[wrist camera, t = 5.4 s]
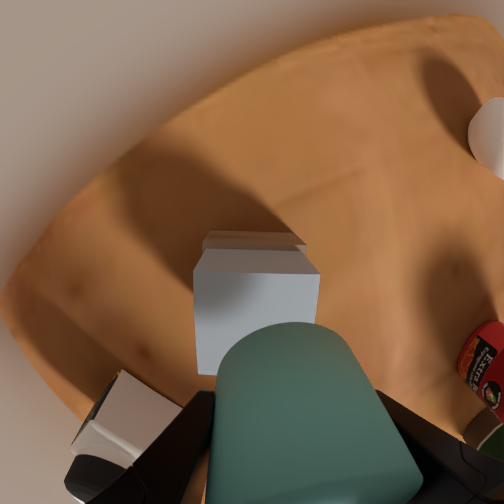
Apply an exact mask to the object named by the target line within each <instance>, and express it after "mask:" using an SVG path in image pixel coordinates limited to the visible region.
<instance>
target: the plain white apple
mask: <svg viewBox="0 0 504 504" xmlns="http://www.w3.org/2000/svg"><path fill="white" fill-rule="evenodd" d="M468 143H469V146H470V149H471V151H472V153H473V155H474V157H475V159H476V160H477V161H478V162H479V163H480V164H481V165H482V166H483V167H485V168H486V169H488V170H489V171H490V172H492V173H493V174H495V175H496V176H498V177H499V178H501V179H503V180H504V98H500V97H495V98H492V99H490V100H488V101H487V102H485V103H484V104H483V106H482V107H481V108H480V109H479V110H478V112H477V113H476V114H475V116H474V117H473V118H472V120H471V122H470V123H469V127H468Z"/></svg>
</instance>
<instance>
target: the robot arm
mask: <svg viewBox="0 0 504 504" xmlns="http://www.w3.org/2000/svg"><path fill="white" fill-rule="evenodd" d="M375 391H376V393H377V395H378V396H379V398H380V400H381V402H382V403H383V405H384V407H385V409H386V410H387V412H388V414H389V416H390V417H391V419H392V421H393V423H394V424H395V426H396V428H397V430H398V432H399V433H400V435H401V437H402V439H403V441H404V442H405V444H406V446H407V448H408V450H409V452H410V453H411V455H412V457H413V459H414V461H415V463H416V465H417V467H418V468H419V470H420V472H421V474H422V476H423V483H422V486H421V487H420V489H419V491H418V492H417V493H416V494H415V496H414V497H413V498H412V499H411V500H410V501H408V502H407V503H406V504H504V462H503V461H501V460H499V459H496V458H494V457H491V456H489V455H487V454H485V453H482V452H480V451H478V450H476V449H475V448H473V447H471V446H469V445H467V444H465V443H464V442H462V441H459V440H458V439H457V438H455V437H453V436H452V435H450V434H448V433H447V432H445V431H443V430H442V429H440V428H438V427H437V426H435V425H433V424H432V423H430V422H428V421H427V420H425V419H423V418H422V417H420V416H419V415H417V414H415V413H414V412H412V411H411V410H409V409H407V408H406V407H404V406H403V405H401V404H399V403H398V402H396V401H395V400H393V399H392V398H390V397H389V396H387V395H385V394H384V393H382V392H381V391H379V390H375ZM214 398H215V393H214V391H209V390H199V391H198V392H197V393H196V395H195V396H194V397H193V398H192V399H191V400H190V401H189V403H188V404H187V405H186V406H185V407H184V408H183V409H182V410H181V412H180V413H179V414H178V415H177V416H176V417H175V418H174V419H173V420H172V422H171V423H170V424H169V425H168V426H167V427H166V428H165V429H164V430H163V431H162V433H161V434H160V435H159V436H158V437H157V438H156V439H155V440H154V441H153V442H152V443H151V444H150V445H149V447H148V448H147V449H146V450H145V451H144V452H143V453H142V454H141V455H140V456H139V457H138V458H137V459H136V460H135V461H134V462H133V463H132V466H129V467H128V468H127V469H126V470H125V471H124V472H123V473H122V474H121V475H120V476H119V477H118V478H117V479H116V480H115V481H114V482H113V483H112V484H111V485H109V486H108V487H107V488H106V489H104V490H103V491H102V492H100V493H99V494H98V495H96V496H95V497H94V498H92V499H91V500H89V501H88V502H86V503H85V504H201V501H202V496H203V492H204V488H205V483H206V479H207V471H208V460H209V449H210V438H211V429H212V419H213V409H214Z"/></svg>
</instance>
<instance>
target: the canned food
mask: <svg viewBox="0 0 504 504" xmlns="http://www.w3.org/2000/svg"><path fill="white" fill-rule="evenodd" d="M458 372H459V374H460V377H461V378H462V379H463V380H464V382H465V383H466V384H467V385H468V386H469V387H470V388H471V389H472V390H473V391H474V392H475V393H476V394H477V395H478V397H479V398H480V399H481V400H482V401H483V402H484V403H485V404H486V405H487V406H488V408H489V409H490V410H491V411H492V412H493V413H494V414H495V415H496V417H497V418H498V419H499V420H500V421H501V422H502V423H503V424H504V324H503V323H501V322H498V321H488V322H486V323H484V324H483V325H481V326H480V327H479V328H478V329H477V330H476V331H475V332H474V333H473V334H472V335H471V336H470V338H469V339H468V341H467V342H466V344H465V345H464V347H463V349H462V351H461V354H460V357H459V360H458Z"/></svg>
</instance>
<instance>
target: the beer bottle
mask: <svg viewBox="0 0 504 504" xmlns="http://www.w3.org/2000/svg"><path fill="white" fill-rule="evenodd" d="M463 439H464V440H465V442H466V444H467V445H469V446H471V447H473V448H475V449H476V450H478V451H480V452H482V453H485V454H487V455H489V456H491V457H494V458H496V459H499V460H501V461H503V462H504V424H503V423H502V422H501V421H500V420H499V419H498V418H497V417H496V415H495V414H494V413H493V412H492V411H491V410H490V409H489V408H488V407H487V408H486V409H484V410H483V411H481V412H480V413H479V414H478V415H477V416H476V417H475V419H474V420H473V421H472V422H471V423H470V424H469V425H468V427H467V429H466V430H465V432H464V434H463Z"/></svg>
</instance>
